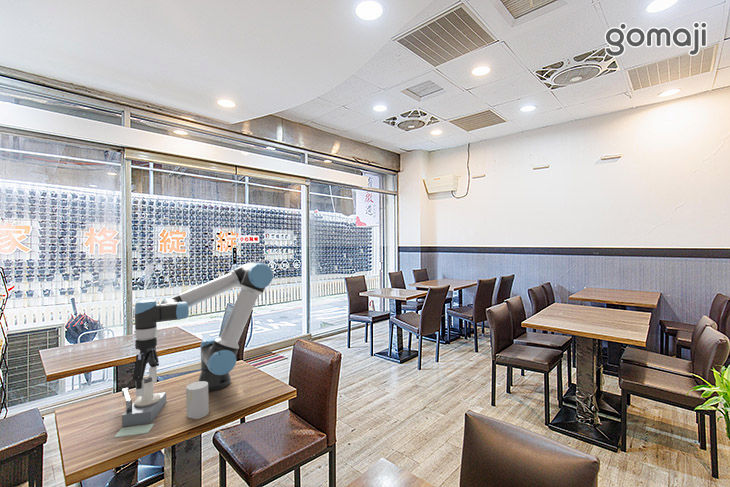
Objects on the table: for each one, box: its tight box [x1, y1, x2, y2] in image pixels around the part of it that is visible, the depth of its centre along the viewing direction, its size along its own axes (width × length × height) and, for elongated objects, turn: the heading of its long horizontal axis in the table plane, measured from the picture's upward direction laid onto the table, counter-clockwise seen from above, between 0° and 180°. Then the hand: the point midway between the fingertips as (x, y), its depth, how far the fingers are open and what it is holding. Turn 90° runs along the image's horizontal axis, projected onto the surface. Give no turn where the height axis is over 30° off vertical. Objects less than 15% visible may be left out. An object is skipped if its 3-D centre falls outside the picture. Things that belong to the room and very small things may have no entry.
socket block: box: [121, 391, 167, 428], centre depth 139 cm, size 10×18×5 cm, turn 14°
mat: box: [113, 423, 155, 439], centre depth 126 cm, size 11×6×1 cm, turn 104°
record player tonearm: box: [121, 387, 133, 412], centre depth 137 cm, size 2×16×4 cm, turn 41°
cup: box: [185, 381, 210, 420], centre depth 139 cm, size 8×8×12 cm
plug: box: [133, 376, 161, 407], centre depth 139 cm, size 9×9×14 cm
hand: (146, 388), depth 139 cm, fingers open, 13 cm apart
